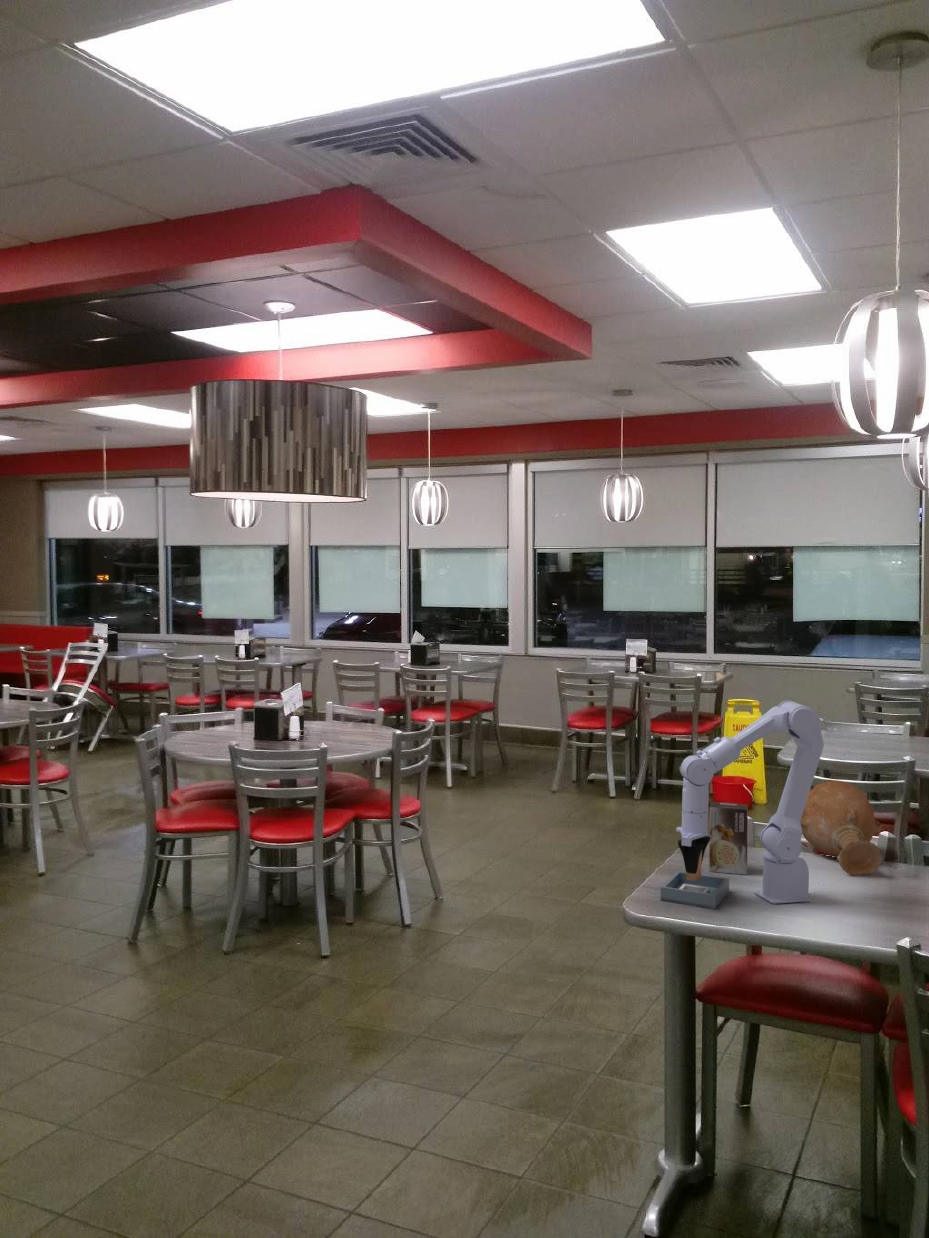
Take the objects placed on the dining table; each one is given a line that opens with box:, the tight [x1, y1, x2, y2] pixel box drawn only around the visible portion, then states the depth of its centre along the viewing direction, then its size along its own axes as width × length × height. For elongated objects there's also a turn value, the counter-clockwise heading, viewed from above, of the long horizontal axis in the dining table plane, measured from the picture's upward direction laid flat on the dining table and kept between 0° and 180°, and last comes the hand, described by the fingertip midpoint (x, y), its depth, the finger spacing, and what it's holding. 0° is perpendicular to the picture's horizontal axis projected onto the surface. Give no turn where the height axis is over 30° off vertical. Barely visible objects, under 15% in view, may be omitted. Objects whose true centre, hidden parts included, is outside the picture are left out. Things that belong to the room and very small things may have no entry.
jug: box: [800, 780, 883, 877], centre depth 262 cm, size 20×19×30 cm
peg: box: [686, 851, 703, 881], centre depth 230 cm, size 3×3×7 cm
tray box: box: [660, 870, 730, 910], centre depth 232 cm, size 14×12×3 cm
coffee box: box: [708, 801, 749, 876], centre depth 252 cm, size 9×6×16 cm
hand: (693, 870), depth 230 cm, fingers closed on peg, 3 cm apart
